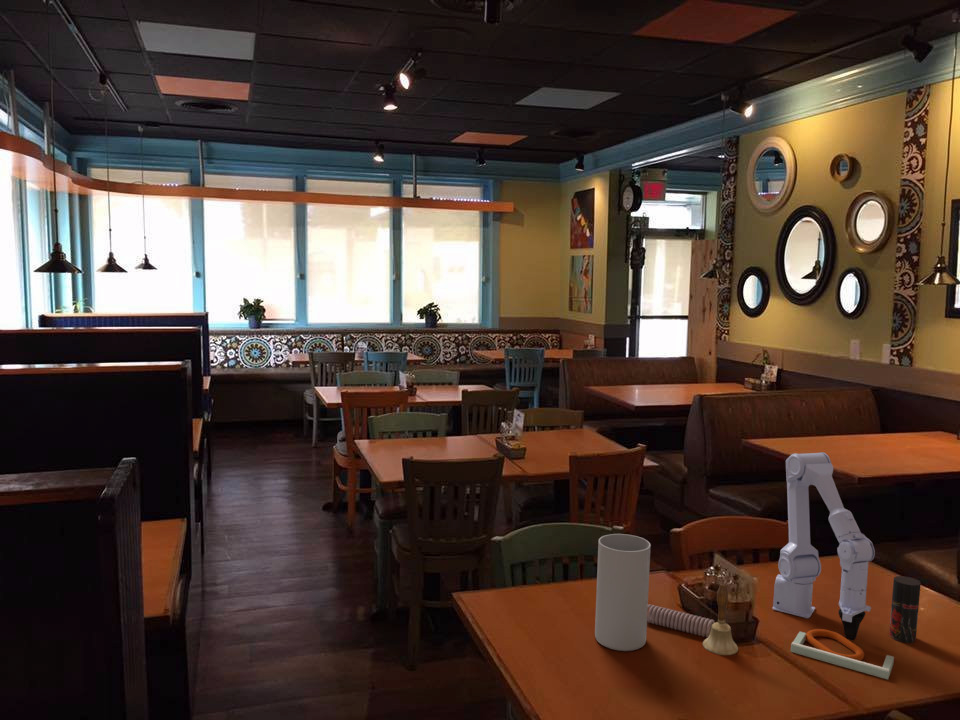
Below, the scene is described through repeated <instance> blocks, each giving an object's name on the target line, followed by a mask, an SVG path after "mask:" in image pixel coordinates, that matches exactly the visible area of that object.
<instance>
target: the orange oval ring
mask: <svg viewBox="0 0 960 720" xmlns="http://www.w3.org/2000/svg"><path fill="white" fill-rule="evenodd" d="M805 633H806V640H805V641H807V642H808V643H809V644H810V645H811V646H813V648H815V649H819V650H823V651H826V652H830V653H833V654H837V655H840V656H844V657H848V658H851V659H855V660H858V661H862V660H863V659H864V657H865V652H864V651H863V648H861V647H860V646H858V645H856V643H854V642H853V641H852V640H848V639H846V638H845V636H844V635H842V634H840V633H839V632H836V631H834V630H833V631H832V630H829V629H823V628H814V629H810V630H808V631H807V632H805ZM815 637H825V638H829V639H832V640H835V641H837V642H838V643H841V644H842V645H844V646H845V647H846V648H848V649H849V650H851V651H852V652H853V653H854V654H845V653H840V652H836V651H834V650H831V649H830V648H829V647H827V646H826V645H825V644H823V643H822V642H820V641H819V640H818V639H816V638H815Z"/></svg>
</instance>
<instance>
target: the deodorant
mask: <svg viewBox="0 0 960 720" xmlns="http://www.w3.org/2000/svg"><path fill="white" fill-rule="evenodd" d="M921 583H922V582H921V581H920V580H919V579H916V578H914V577H910V576H906V575H905V576H904V575H897V576H894V577H893V584H892V594H891V608H890V609H891V610H890V620H889V621H890V622H889V630H888V631H889V633H888V635H889V637H890V638H892V639H893V640H895V641H896V642H901V643H903V644H904V643H906V644H912V643H915V642H916V641H917V629H918V628H917V627H918V620H919V619H918V618H919V605H920V596H921Z"/></svg>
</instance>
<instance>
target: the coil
mask: <svg viewBox="0 0 960 720" xmlns="http://www.w3.org/2000/svg"><path fill="white" fill-rule="evenodd" d="M648 623H649V624H653V625H656V626H658V625H659V626H660V627H662V626H663V627H664V628H668V629H669V628H670V629H671V630H672V629H674V630H676V631H680V632H681V631H682V632H684V633H685V632H686V633H687V634H688V633H690V634H691V635H693V634H694V635H695V636H699V637H701V636H702V638H708V637H709V635H710V632H711V628H712V624H714V623H716V622H715V620H714V619H710V618H706V617H702V616H698V615H694V614H690V613H687V612H682V611H679V610H674V609H671V608H667V607H663V606H659V605H655V604H650V603H649V604H648V611H647V624H648Z"/></svg>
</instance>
